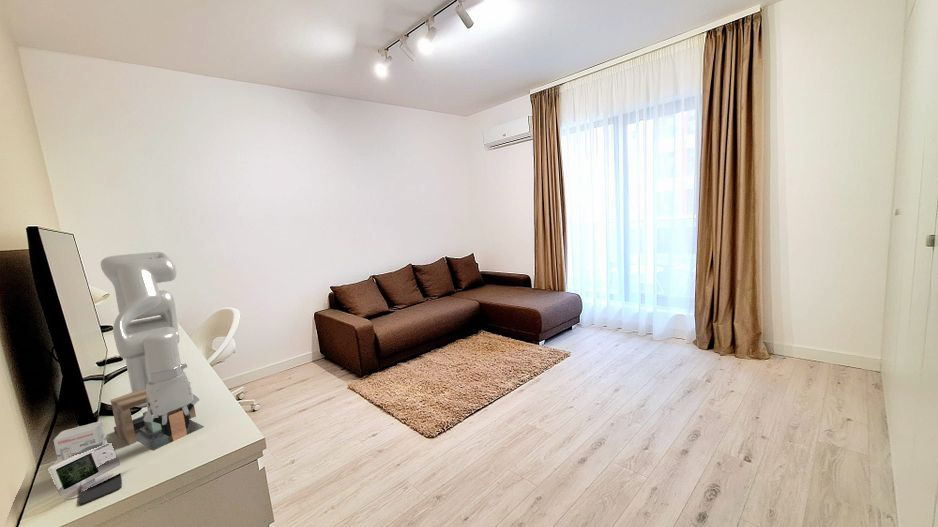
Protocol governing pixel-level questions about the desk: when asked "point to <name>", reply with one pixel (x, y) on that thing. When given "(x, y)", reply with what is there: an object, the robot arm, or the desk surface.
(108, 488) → the phone
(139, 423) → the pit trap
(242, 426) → the desk surface
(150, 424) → the sage block
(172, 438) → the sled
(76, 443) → the ink box
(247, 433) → the desk surface
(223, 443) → the desk surface
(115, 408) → the tunnel
